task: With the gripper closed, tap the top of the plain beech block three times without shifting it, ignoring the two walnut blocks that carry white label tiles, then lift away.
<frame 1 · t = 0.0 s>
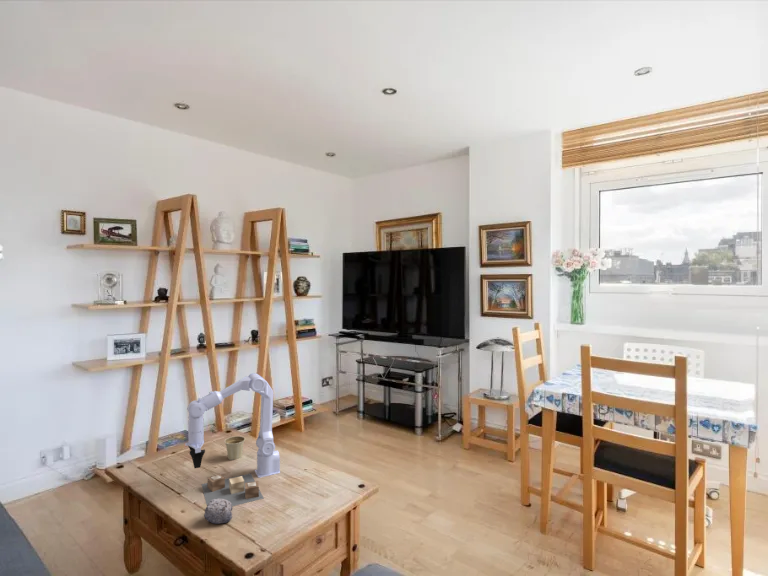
hand: (196, 463, 171), 10 cm above the table, fingers open, 7 cm apart
plain block: (236, 489, 170), resting on slate mat
slate mat: (231, 491, 169), on the table
pumice stone: (220, 521, 149), on the table
walnut block b: (251, 494, 166), resting on slate mat
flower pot: (234, 458, 201), on the table
walnut block a: (216, 487, 172), resting on slate mat
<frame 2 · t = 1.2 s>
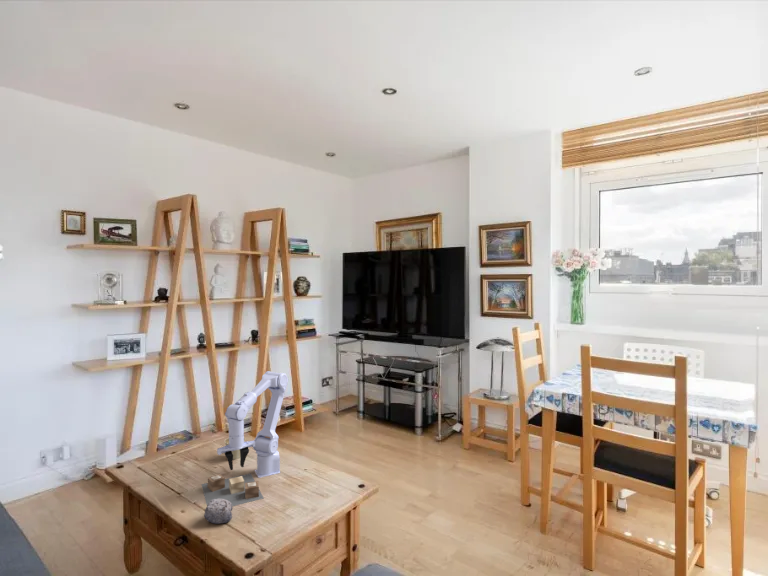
hand: (236, 467, 170), 9 cm above the table, fingers open, 4 cm apart
nothing on the table moved.
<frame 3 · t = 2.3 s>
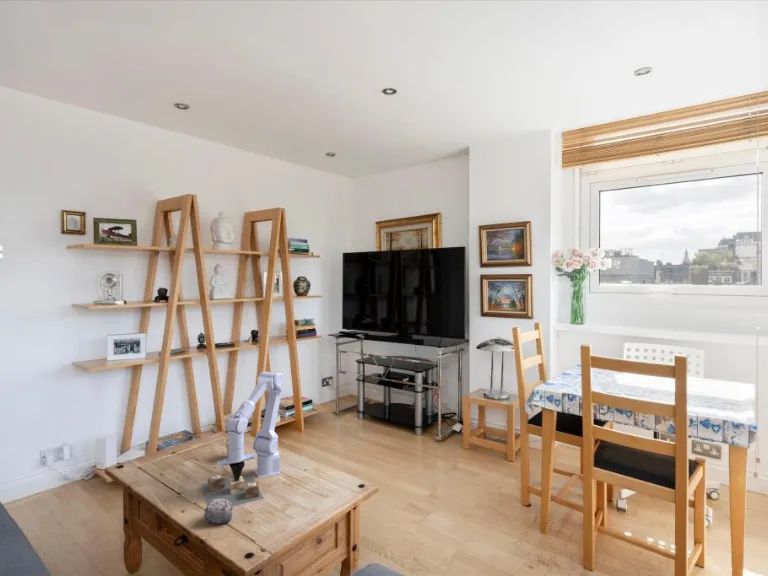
hand: (236, 480, 170), 4 cm above the table, fingers closed, pressing on plain block
plain block: (236, 489, 170), resting on slate mat, touching gripper
everything else where it was.
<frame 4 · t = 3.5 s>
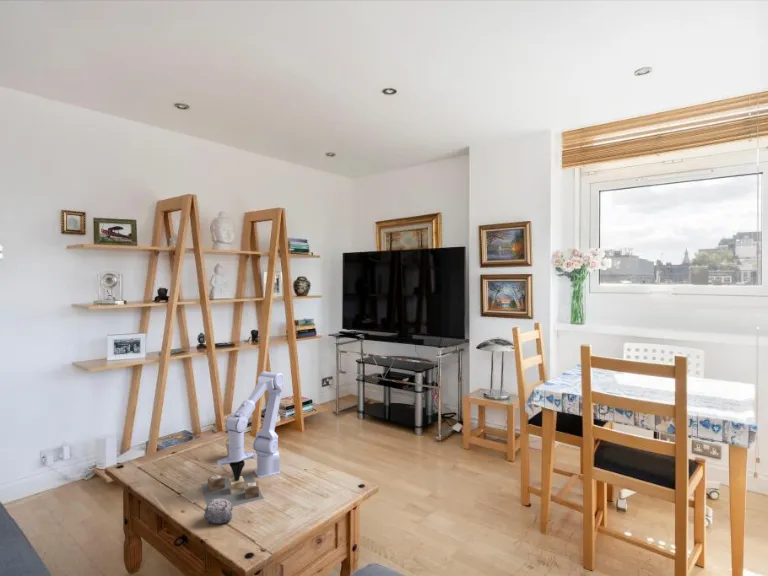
hand: (236, 479, 170), 5 cm above the table, fingers closed
plain block: (236, 489, 170), resting on slate mat
everything else where it was.
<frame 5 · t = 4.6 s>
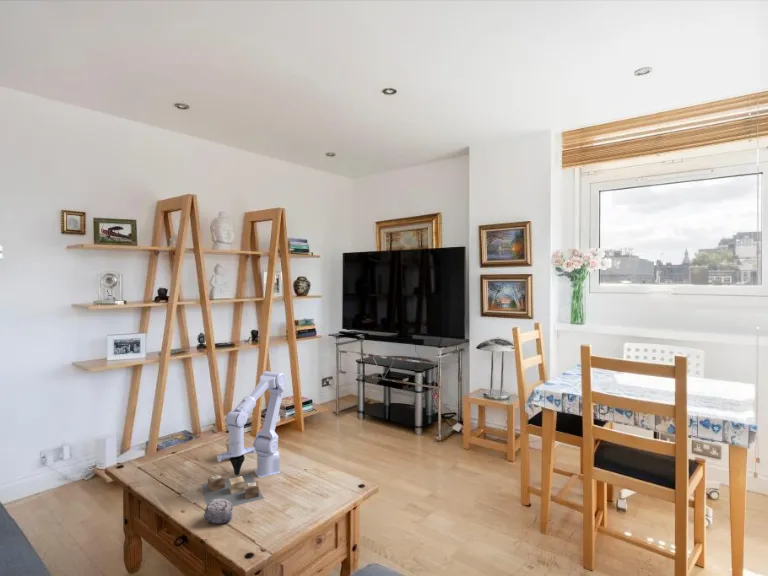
hand: (236, 474, 170), 7 cm above the table, fingers closed
nothing on the table moved.
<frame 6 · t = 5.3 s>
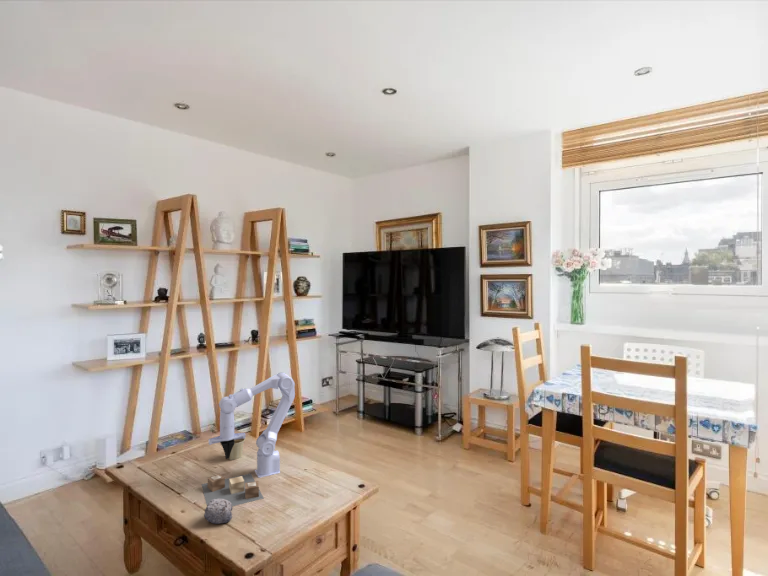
hand: (227, 457, 178), 10 cm above the table, fingers closed
nothing on the table moved.
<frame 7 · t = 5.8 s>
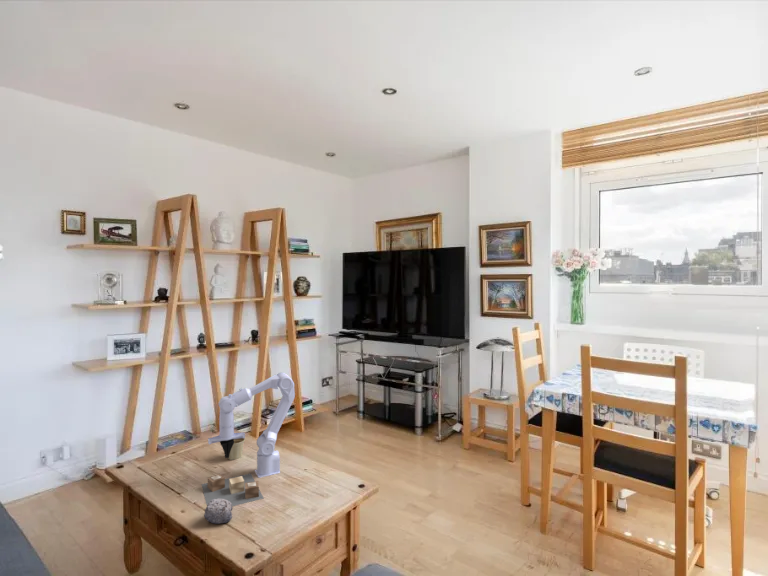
hand: (226, 457, 178), 10 cm above the table, fingers closed
nothing on the table moved.
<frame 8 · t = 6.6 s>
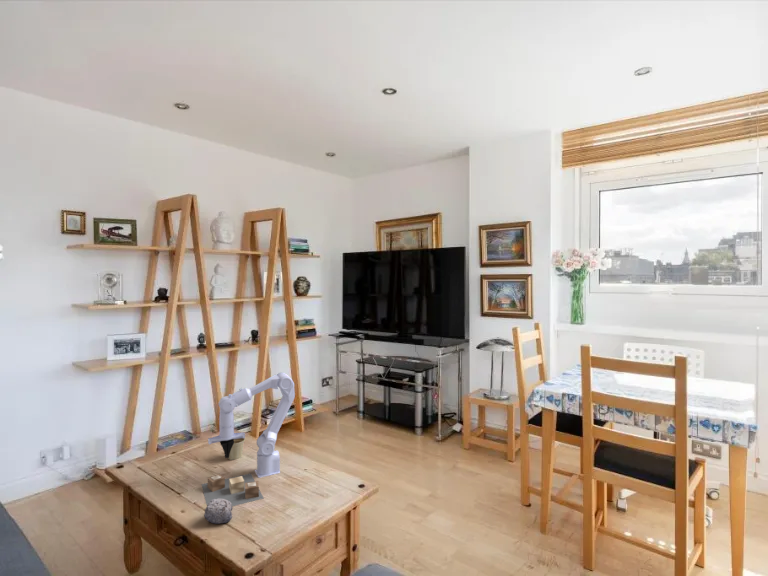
hand: (226, 457, 178), 10 cm above the table, fingers closed
nothing on the table moved.
at the end: plain block moved 0.0 cm from its start; plain block tilted 0°; walnut block a moved 0.0 cm from its start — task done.
